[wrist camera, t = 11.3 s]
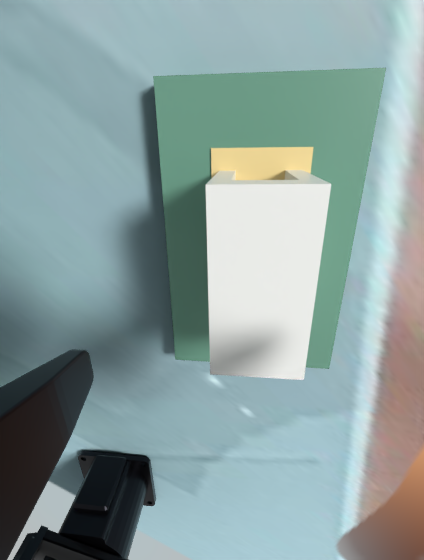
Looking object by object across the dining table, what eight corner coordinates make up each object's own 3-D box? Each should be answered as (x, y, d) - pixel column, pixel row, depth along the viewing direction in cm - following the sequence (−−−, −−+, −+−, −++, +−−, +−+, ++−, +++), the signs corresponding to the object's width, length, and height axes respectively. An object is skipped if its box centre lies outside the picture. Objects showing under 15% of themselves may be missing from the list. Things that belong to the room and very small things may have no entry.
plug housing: (287, 313, 18) (303, 380, 13) (220, 310, 18) (210, 374, 13) (302, 169, 14) (331, 183, 9) (219, 170, 15) (205, 184, 10)
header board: (324, 356, 20) (337, 392, 17) (179, 348, 21) (168, 380, 18) (375, 73, 14) (409, 55, 11) (160, 81, 15) (139, 65, 12)
